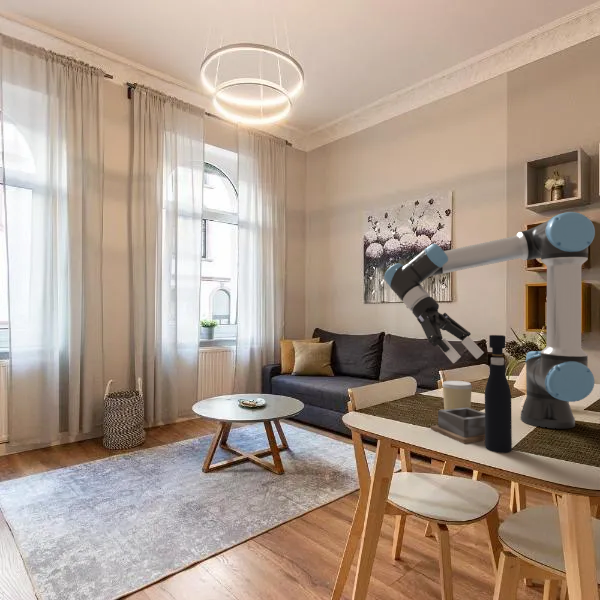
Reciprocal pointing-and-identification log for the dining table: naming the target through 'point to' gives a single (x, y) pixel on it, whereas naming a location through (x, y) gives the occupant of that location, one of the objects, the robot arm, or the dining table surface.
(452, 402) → the coffee cup
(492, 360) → the wine bottle
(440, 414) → the collar stand
